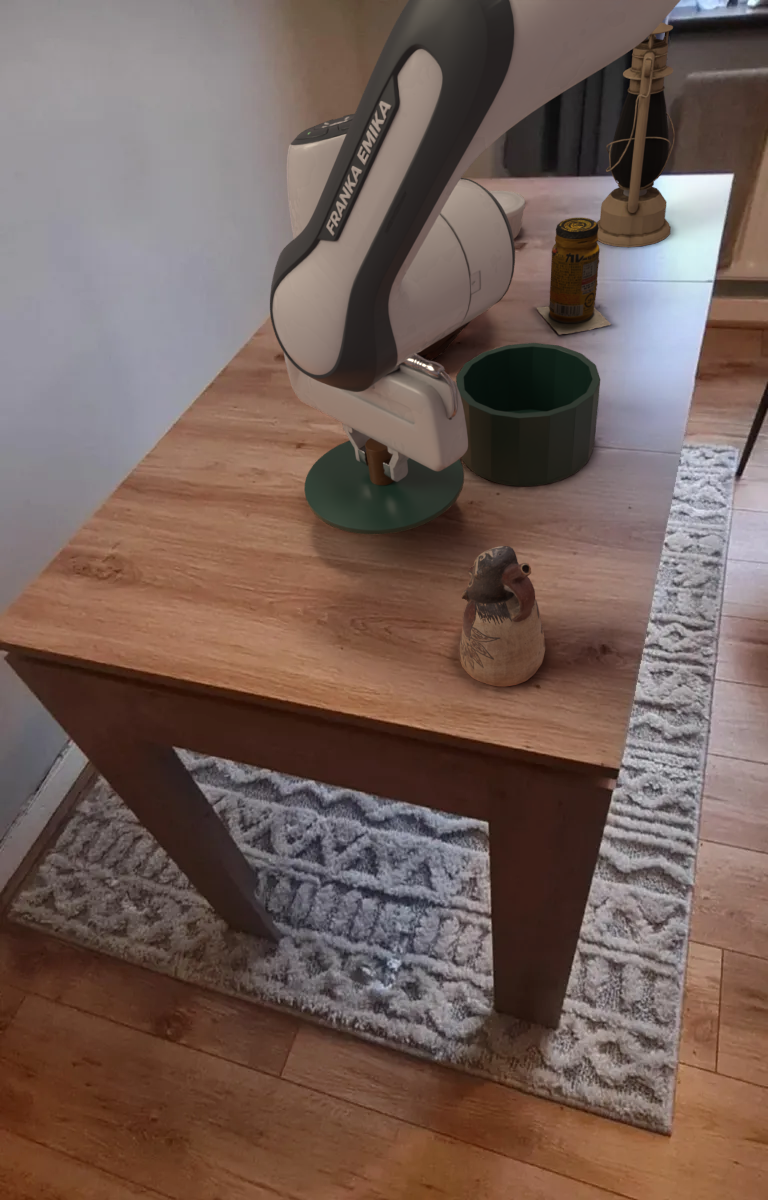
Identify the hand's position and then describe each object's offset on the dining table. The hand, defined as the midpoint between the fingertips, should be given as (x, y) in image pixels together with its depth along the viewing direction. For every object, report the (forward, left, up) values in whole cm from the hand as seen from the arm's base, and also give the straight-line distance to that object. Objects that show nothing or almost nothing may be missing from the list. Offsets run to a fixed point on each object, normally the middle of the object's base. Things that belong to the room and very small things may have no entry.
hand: (382, 468), depth 77 cm
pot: (-2, -19, -7) cm, 21 cm away
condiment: (+12, -46, -7) cm, 48 cm away
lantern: (+22, -74, -7) cm, 78 cm away
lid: (0, 0, -2) cm, 2 cm away
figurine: (-20, +6, -7) cm, 22 cm away
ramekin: (+40, -61, -7) cm, 73 cm away
